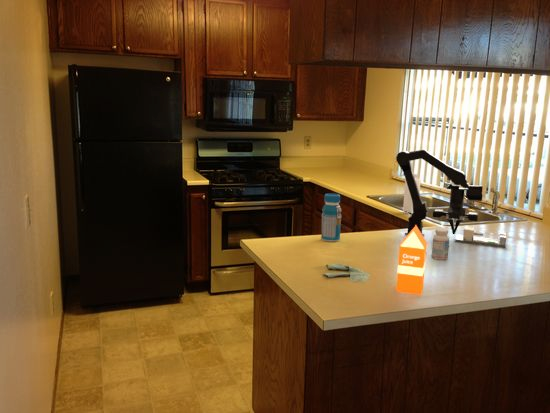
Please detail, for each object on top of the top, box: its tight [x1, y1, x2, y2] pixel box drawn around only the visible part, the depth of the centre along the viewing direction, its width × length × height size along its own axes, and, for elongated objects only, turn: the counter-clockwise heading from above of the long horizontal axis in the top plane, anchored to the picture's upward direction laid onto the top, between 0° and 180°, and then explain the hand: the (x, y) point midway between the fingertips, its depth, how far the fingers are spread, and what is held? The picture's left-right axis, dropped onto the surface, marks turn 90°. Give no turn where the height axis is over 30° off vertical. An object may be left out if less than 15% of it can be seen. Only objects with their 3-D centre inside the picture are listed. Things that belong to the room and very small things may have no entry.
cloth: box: [322, 262, 371, 283], centre depth 172 cm, size 20×22×2 cm
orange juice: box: [396, 225, 428, 296], centre depth 156 cm, size 8×9×20 cm
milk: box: [402, 173, 422, 213], centre depth 276 cm, size 6×6×22 cm
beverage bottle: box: [320, 193, 342, 243], centre depth 214 cm, size 8×8×20 cm
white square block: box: [462, 226, 484, 239], centre depth 216 cm, size 8×8×4 cm
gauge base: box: [454, 231, 507, 249], centre depth 216 cm, size 20×10×4 cm, turn 66°
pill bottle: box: [431, 227, 450, 261], centre depth 191 cm, size 6×6×11 cm
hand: (453, 233), depth 220 cm, fingers closed
